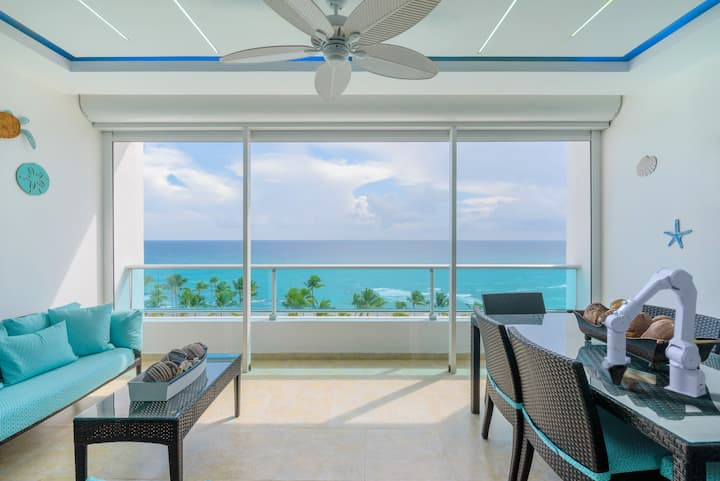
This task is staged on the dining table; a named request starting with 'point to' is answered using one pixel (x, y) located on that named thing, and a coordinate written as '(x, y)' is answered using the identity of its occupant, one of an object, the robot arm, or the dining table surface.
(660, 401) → the dining table surface
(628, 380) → the seahorse
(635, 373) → the stop rail
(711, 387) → the dining table surface
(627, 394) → the dining table surface
